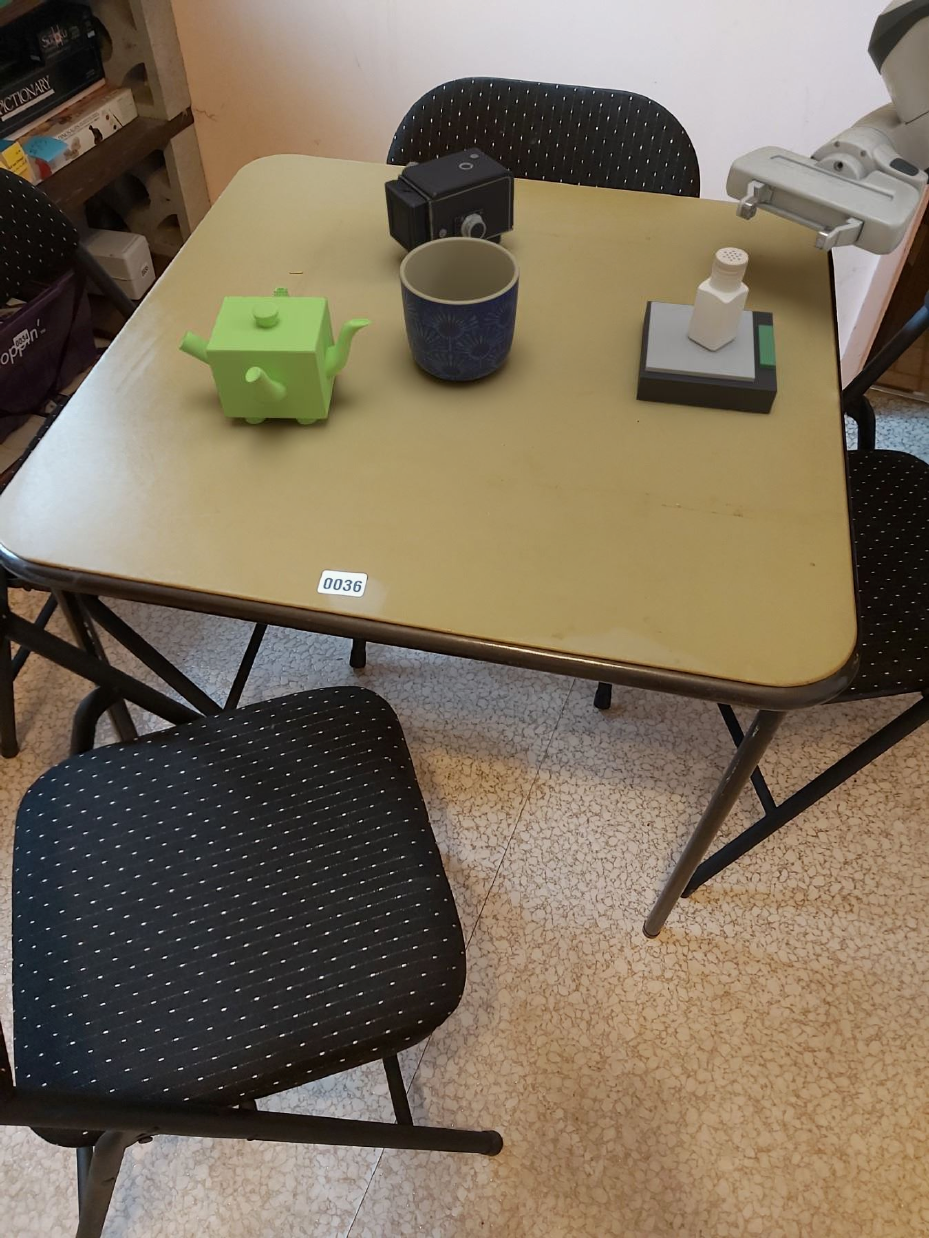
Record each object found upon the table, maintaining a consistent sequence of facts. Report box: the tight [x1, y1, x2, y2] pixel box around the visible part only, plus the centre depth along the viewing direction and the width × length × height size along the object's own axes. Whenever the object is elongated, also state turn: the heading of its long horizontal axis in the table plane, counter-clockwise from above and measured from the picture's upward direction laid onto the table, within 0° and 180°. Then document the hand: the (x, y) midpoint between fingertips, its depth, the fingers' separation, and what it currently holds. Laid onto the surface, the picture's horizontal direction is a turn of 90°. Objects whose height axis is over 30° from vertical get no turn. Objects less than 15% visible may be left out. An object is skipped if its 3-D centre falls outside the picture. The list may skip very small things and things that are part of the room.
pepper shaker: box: [688, 247, 750, 350], centre depth 87 cm, size 4×4×10 cm
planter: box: [398, 237, 521, 382], centre depth 90 cm, size 12×12×11 cm
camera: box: [383, 147, 515, 254], centre depth 103 cm, size 11×11×15 cm
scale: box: [636, 300, 778, 415], centre depth 92 cm, size 14×14×4 cm
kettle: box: [178, 286, 372, 425], centre depth 86 cm, size 15×14×11 cm
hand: (781, 227), depth 88 cm, fingers open, 8 cm apart
